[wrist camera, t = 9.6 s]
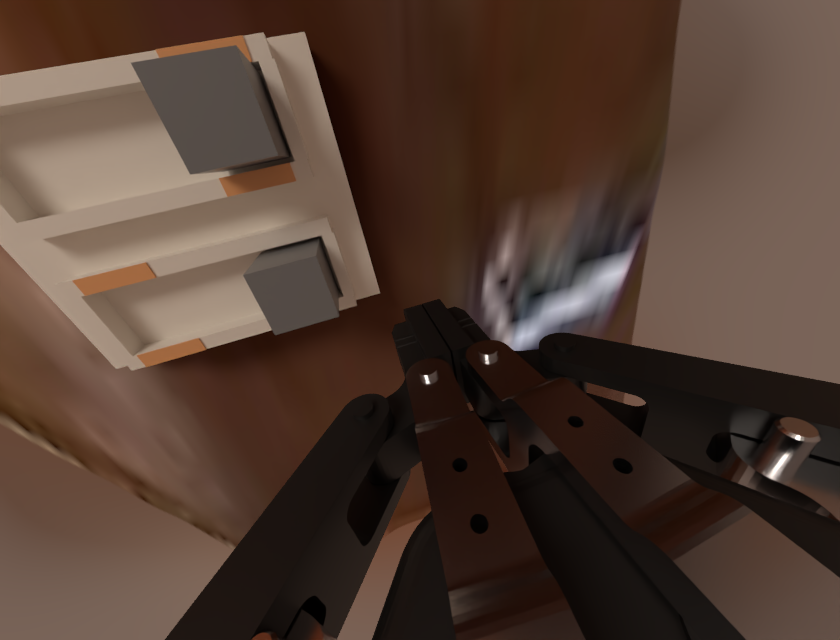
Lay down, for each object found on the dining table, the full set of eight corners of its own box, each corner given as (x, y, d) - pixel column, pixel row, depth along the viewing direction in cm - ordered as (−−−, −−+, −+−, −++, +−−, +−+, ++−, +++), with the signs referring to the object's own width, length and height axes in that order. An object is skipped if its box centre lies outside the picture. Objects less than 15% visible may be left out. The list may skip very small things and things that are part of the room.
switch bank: (-79, 110, 15) (-183, 98, 12) (307, 44, 18) (301, 19, 15) (132, 353, 23) (101, 382, 20) (377, 284, 26) (383, 300, 23)
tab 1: (185, 89, 16) (130, 63, 12) (261, 75, 16) (236, 45, 12) (224, 171, 18) (190, 174, 14) (291, 157, 18) (278, 155, 14)
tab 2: (261, 251, 20) (242, 275, 16) (319, 236, 21) (315, 255, 17) (286, 302, 22) (274, 335, 18) (338, 287, 23) (339, 316, 19)
